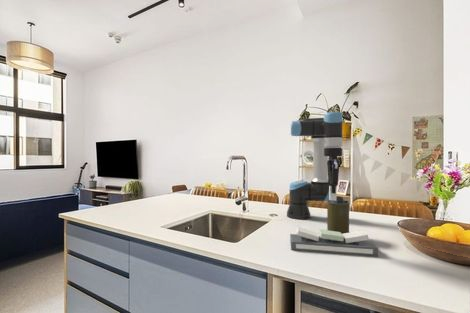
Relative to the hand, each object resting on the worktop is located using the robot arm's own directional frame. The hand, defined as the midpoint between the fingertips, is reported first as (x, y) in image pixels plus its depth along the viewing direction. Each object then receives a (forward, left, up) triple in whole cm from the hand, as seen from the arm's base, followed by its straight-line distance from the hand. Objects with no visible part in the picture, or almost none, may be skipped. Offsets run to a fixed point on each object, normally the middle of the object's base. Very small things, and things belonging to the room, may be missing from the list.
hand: (332, 200), depth 104 cm
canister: (-14, +5, -21) cm, 26 cm away
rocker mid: (+3, -2, -16) cm, 16 cm away
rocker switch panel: (+3, -2, -21) cm, 21 cm away
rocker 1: (+3, -12, -16) cm, 20 cm away
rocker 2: (+3, +8, -16) cm, 18 cm away
